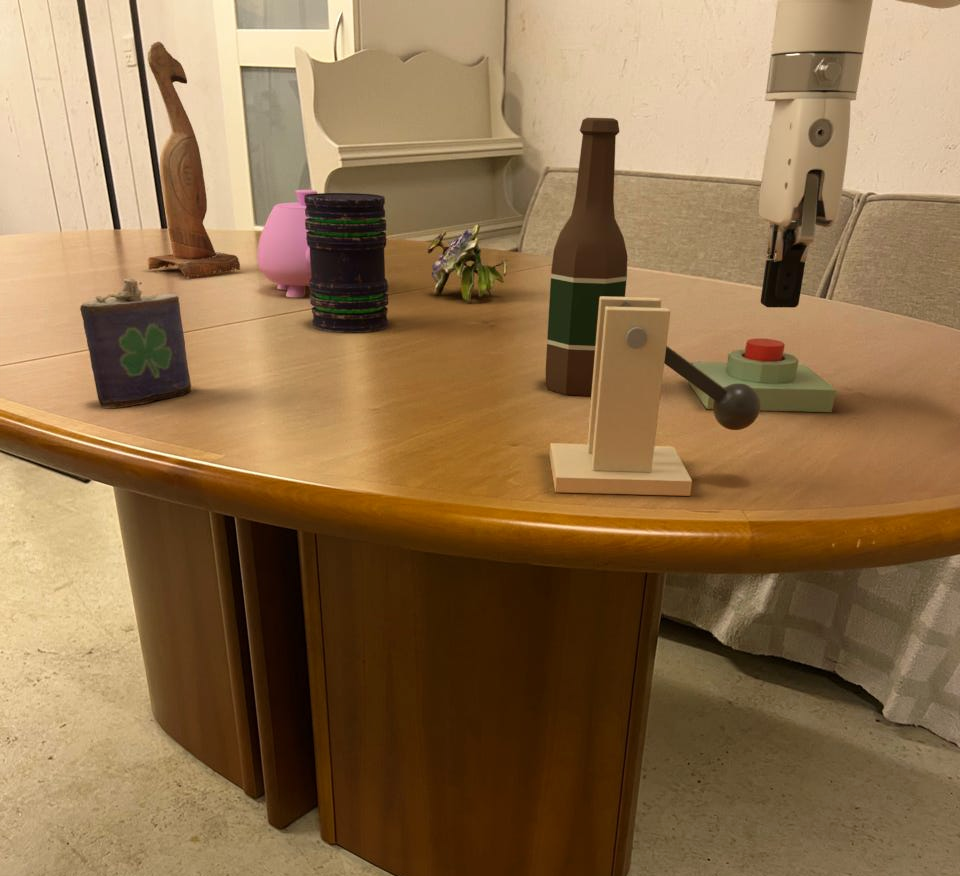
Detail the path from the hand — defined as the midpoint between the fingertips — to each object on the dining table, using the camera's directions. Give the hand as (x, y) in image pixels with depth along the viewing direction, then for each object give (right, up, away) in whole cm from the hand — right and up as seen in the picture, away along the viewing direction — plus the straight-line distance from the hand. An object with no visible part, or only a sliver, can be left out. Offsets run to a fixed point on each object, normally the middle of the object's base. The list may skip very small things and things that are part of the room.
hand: (778, 305), depth 88 cm
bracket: (-18, -19, -16) cm, 31 cm away
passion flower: (-31, +20, +51) cm, 63 cm away
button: (-1, -4, +3) cm, 5 cm away
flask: (-60, -9, -1) cm, 61 cm away
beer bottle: (-18, -6, +7) cm, 20 cm away
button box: (-1, -7, +5) cm, 9 cm away
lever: (-14, -13, -20) cm, 28 cm away
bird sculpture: (-76, +29, +65) cm, 104 cm away
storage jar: (-45, +9, +31) cm, 55 cm away
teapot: (-53, +20, +51) cm, 77 cm away
